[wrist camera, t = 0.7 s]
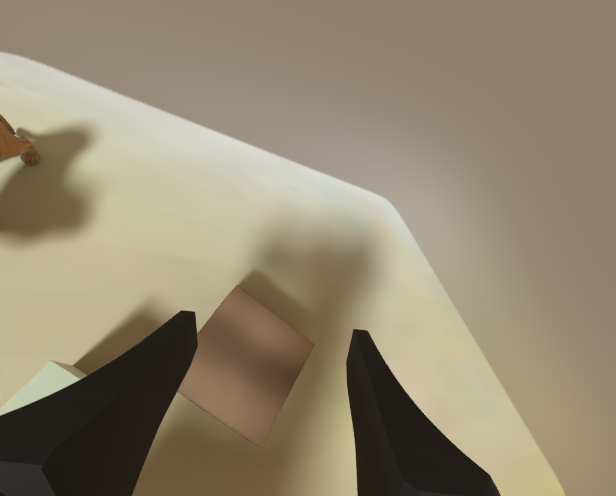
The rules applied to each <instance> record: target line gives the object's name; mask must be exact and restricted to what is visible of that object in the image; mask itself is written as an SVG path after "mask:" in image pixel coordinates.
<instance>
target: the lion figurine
mask: <svg viewBox="0 0 616 496" xmlns="http://www.w3.org/2000/svg"><path fill="white" fill-rule="evenodd" d="M15 134H16V133H15V132H14V129H13V128H12V127H11V126H10V124H9V123H8V122H7V121H6V119H5V118H4V117H3V116H2V115H0V156H1V157H13V156H17V155H20V154H21V159H22V161H24V162H25V163H26V164H35V163H37V162H38V161H39V155H38V153H37V151H36V149H35V148H34V147H33V145H32V143H31V142H30V141H29V140H28V139H27V138H24V137H21V138H18V137H16V136H14V135H15Z"/></svg>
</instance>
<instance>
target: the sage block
mask: <svg viewBox="0 0 616 496" xmlns="http://www.w3.org/2000/svg"><path fill="white" fill-rule="evenodd" d="M86 376H88V375H86V374H85V373H83V372H82V371H80V370H79V369H77V368H76V367H74V366H72V365H68V364H64V363H60V362H55V361H50V362H49V363H48V364H46V365H45V366H44V367H43V368H42V369H41V370H40V371H39V372H38V373H37V374H36V375H35V376H34V377H33V378H32V379H31V380H30V381H29V382H28V383H27V384H26V385H24V386H23V387H22V388H21V389H20V390H19V391H18V392H17V393H16V394H15V395H14V396H13V397H12V398H11V399H10V400H9V401H8V402H7V403H6V404H5V405H3V406H2V407H1V408H0V415H3V414H5V413H8V412H10V411H13V410H15V409H18V408H21V407H23V406H25V405H28V404H30V403H32V402H35V401H37V400H39V399H41V398H44V397H46V396H48V395H50V394H52V393H55V392H57V391H59V390H61V389H63V388H65V387H67V386H69V385H71V384H73V383H75V382H76V381H78V380H80V379H82V378H84V377H86Z"/></svg>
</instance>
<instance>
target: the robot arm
mask: <svg viewBox="0 0 616 496" xmlns="http://www.w3.org/2000/svg"><path fill="white" fill-rule="evenodd" d="M197 347H198V340H197V329H196V317H195V312H192V311H180V312H179V313H178V314H176V315H175V316H174V317H172V318H171V319H170V320H169V321H167V322H166V323H165V324H164V325H162V326H161V327H160V328H158V329H157V330H156V331H155V332H153V333H152V334H151V335H149V336H148V337H147V338H145V339H144V340H143V341H141V342H140V343H139V344H137V345H136V346H134V347H133V348H131V349H130V350H128V351H127V352H126V353H124V354H123V355H121V356H120V357H118V358H117V359H115V360H113V361H112V362H110V363H109V364H107V365H105V366H104V367H102V368H100V369H99V370H97V371H95V372H93V373H92V374H90V375H88V376H86V377H84V378H82V379H80V380H78V381H76V382H75V383H73V384H71V385H69V386H67V387H65V388H63V389H61V390H59V391H57V392H55V393H52V394H50V395H48V396H46V397H44V398H41V399H39V400H37V401H35V402H32V403H30V404H28V405H25V406H23V407H21V408H18V409H15V410H13V411H10V412H8V413H5V414H3V415H0V496H132V494H133V491H134V488H135V486H136V483H137V480H138V478H139V475H140V472H141V470H142V467H143V465H144V462H145V460H146V457H147V455H148V452H149V450H150V447H151V445H152V442H153V440H154V438H155V435H156V433H157V430H158V428H159V426H160V424H161V421H162V419H163V417H164V415H165V413H166V411H167V410H168V408H169V406H170V404H171V402H172V400H173V398H174V396H175V395H176V393H177V391H178V389H179V387H180V385H181V383H182V381H183V379H184V377H185V376H186V374H187V372H188V370H189V368H190V366H191V363H192V360H193V358H194V355H195V353H196V350H197ZM346 365H347V387H348V395H349V402H350V409H351V416H352V423H353V430H354V438H355V448H356V467H357V490H358V496H501V495H500V493H499V491H498V489H497V487H496V486H495V484H494V482H493V480H492V478H491V476H490V475H489V474H488V473H487V472H485V471H484V470H483V469H482V468H481V467H479V466H478V465H477V464H476V463H475V462H473V461H472V460H471V459H470V458H469V457H467V456H466V455H465V454H464V453H463V452H462V451H461V450H459V449H458V448H457V447H456V446H455V445H454V444H453V443H452V442H451V441H450V440H449V439H448V438H447V437H446V436H445V435H444V434H443V433H442V432H441V431H440V430H439V429H438V428H437V427H436V426H435V425H434V424H433V423H432V422H431V421H430V420H429V419H428V418H427V417H426V416H425V415H424V413H423V412H422V411H421V410H420V409H419V408H418V407H417V405H416V404H415V403H414V402H413V400H412V399H411V398H410V397H409V395H408V394H407V393H406V392H405V390H404V389H403V388H402V386H401V385H400V383H399V382H398V381H397V379H396V378H395V376H394V375H393V373H392V372H391V370H390V369H389V367H388V365H387V364H386V362H385V361H384V359H383V357H382V356H381V354H380V352H379V351H378V349H377V347H376V345H375V344H374V342H373V340H372V338H371V336H370V334H369V332H368V331H366V330H357V329H354V330H353V334H352V339H351V343H350V348H349V352H348V357H347V361H346Z"/></svg>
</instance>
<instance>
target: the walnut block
mask: <svg viewBox="0 0 616 496" xmlns="http://www.w3.org/2000/svg"><path fill="white" fill-rule="evenodd" d="M197 340H198V347H197V350H196V353H195V355H194V358H193V360H192V363H191V366H190V368H189V370H188V372H187V374H186V376H185V377H184V379H183V381H182V383H181V385H180V387H179V389H178V391H177V392H178V393H180V394H181V395H183V396H184V397H186V398H187V399H189V400H190V401H191V402H193V403H194V404H196V405H197V406H199V407H200V408H202V409H203V410H205V411H206V412H208V413H209V414H210V415H212V416H213V417H215V418H216V419H218V420H219V421H221V422H222V423H224V424H225V425H227V426H228V427H230V428H231V429H232V430H234V431H235V432H237V433H238V434H240V435H241V436H243V437H244V438H246V439H247V440H249V441H250V442H252V443H254V444H255V445H257V446H259V447H261V446H262V445H263V443H264V441H265V439H266V437H267V435H268V433H269V431H270V429H271V427H272V425H273V423H274V421H275V420H276V418H277V416H278V414H279V412H280V410H281V408H282V406H283V404H284V402H285V400H286V398H287V396H288V395H289V393H290V391H291V389H292V387H293V385H294V383H295V381H296V379H297V377H298V375H299V373H300V372H301V370H302V368H303V366H304V364H305V362H306V360H307V358H308V356H309V354H310V352H311V350H312V348H313V347H314V345H315V344H313V343H312V342H311V341H309V340H308V339H307V338H305V337H304V336H303V335H302V334H300V333H299V332H298V331H296V330H295V329H294V328H292V327H291V326H290V325H288V324H287V323H286V322H284V321H283V320H282V319H281V318H279V317H278V316H277V315H275V314H274V313H273V312H271V311H270V310H269V309H267V308H266V307H265V306H264V305H262V304H261V303H260V302H258V301H257V300H256V299H254V298H253V297H252V296H250V295H249V294H248V293H246V292H245V291H244V290H243V289H241V288H240V287H239V286H236V287H235V288H234V289H233V290H232V291H231V292H230V293H229V295H228V296H227V297H226V298H225V300H224V301H223V302H222V303H221V305H220V306H219V307H218V308H217V310H216V311H215V312H214V313H213V315H212V316H211V317H210V318H209V320H208V321H207V322H206V324H205V325H204V326H203V327H202V329H201V330H200V331H199V332H198V334H197Z"/></svg>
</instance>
